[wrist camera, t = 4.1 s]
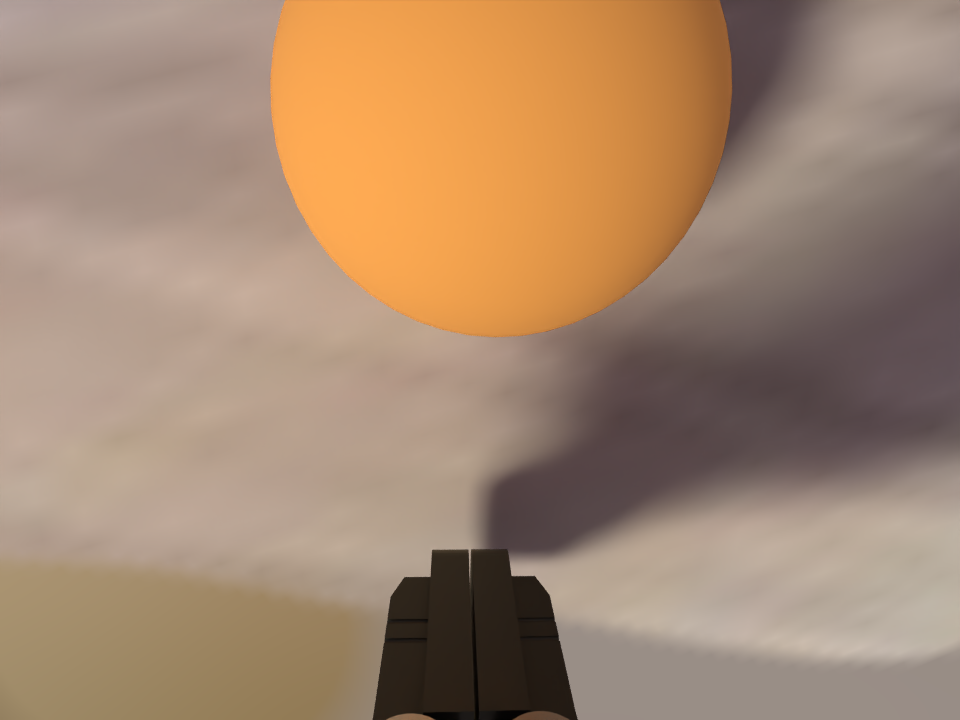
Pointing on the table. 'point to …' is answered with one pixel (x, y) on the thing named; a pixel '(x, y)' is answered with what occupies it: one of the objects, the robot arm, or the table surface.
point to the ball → (500, 147)
